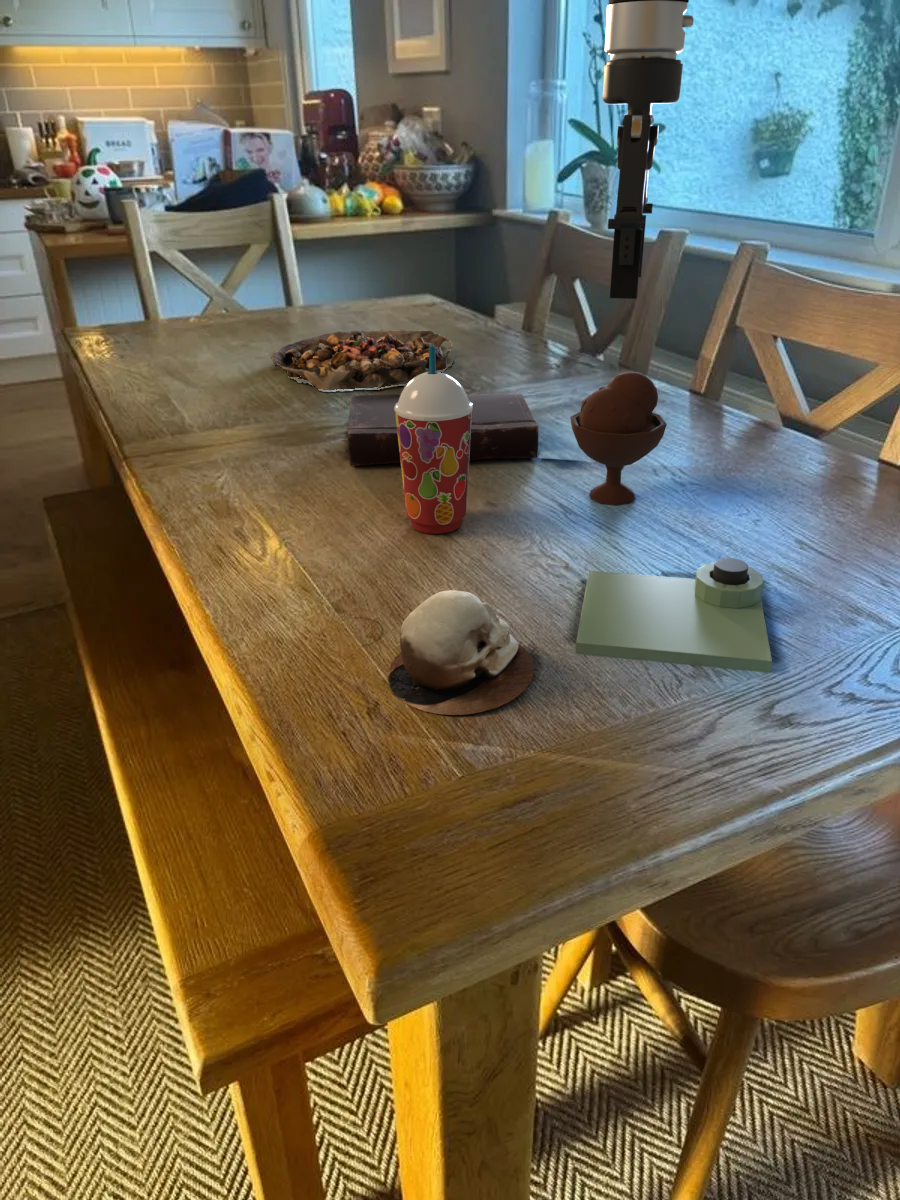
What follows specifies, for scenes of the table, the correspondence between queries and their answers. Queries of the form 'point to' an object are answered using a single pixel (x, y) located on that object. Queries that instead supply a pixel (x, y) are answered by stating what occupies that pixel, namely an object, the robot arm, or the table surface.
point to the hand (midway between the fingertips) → (626, 287)
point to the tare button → (730, 571)
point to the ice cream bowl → (618, 430)
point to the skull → (458, 657)
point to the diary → (494, 428)
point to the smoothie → (434, 449)
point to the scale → (675, 620)
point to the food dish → (361, 358)
